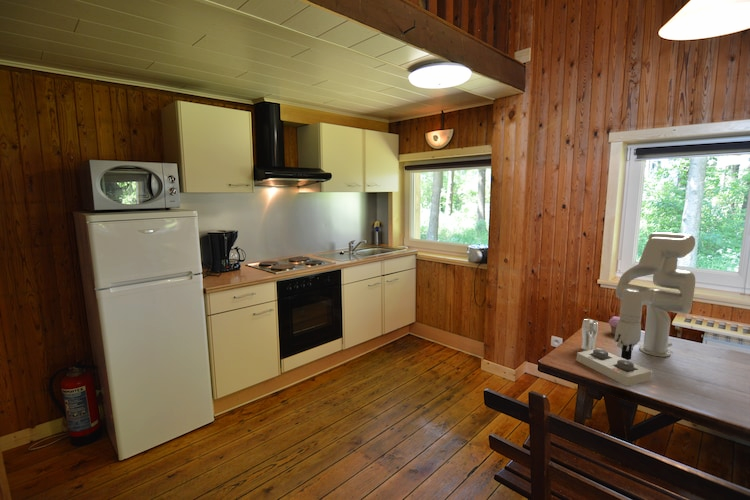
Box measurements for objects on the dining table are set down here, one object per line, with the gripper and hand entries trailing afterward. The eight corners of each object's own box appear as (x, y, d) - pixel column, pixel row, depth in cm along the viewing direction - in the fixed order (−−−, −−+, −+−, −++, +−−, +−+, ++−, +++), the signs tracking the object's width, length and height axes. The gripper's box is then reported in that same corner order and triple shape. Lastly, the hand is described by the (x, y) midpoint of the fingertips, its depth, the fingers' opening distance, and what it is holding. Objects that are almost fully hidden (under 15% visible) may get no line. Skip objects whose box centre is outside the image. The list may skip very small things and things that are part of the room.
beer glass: (598, 352, 187) (600, 323, 184) (582, 351, 188) (585, 323, 186) (593, 346, 194) (595, 319, 191) (578, 345, 195) (580, 318, 192)
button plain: (599, 354, 178) (599, 348, 178) (610, 359, 173) (611, 353, 172) (589, 356, 176) (590, 350, 176) (601, 361, 171) (601, 355, 170)
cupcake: (608, 330, 216) (610, 313, 214) (626, 333, 211) (628, 316, 209) (607, 335, 209) (608, 317, 207) (626, 338, 204) (627, 320, 202)
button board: (598, 355, 183) (599, 347, 183) (650, 379, 160) (651, 370, 159) (576, 360, 179) (577, 352, 178) (627, 386, 155) (628, 376, 155)
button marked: (623, 365, 167) (623, 358, 166) (636, 371, 161) (637, 364, 161) (613, 367, 165) (614, 361, 164) (626, 373, 159) (627, 367, 159)
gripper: (634, 313, 165) (629, 352, 168) (609, 317, 160) (605, 357, 163) (651, 318, 158) (646, 359, 161) (626, 323, 153) (621, 365, 156)
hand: (625, 358), depth 162 cm, fingers closed
